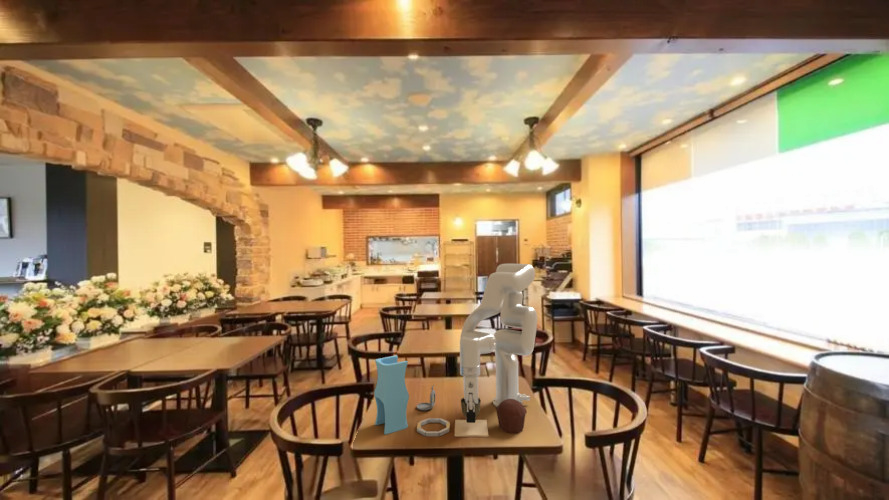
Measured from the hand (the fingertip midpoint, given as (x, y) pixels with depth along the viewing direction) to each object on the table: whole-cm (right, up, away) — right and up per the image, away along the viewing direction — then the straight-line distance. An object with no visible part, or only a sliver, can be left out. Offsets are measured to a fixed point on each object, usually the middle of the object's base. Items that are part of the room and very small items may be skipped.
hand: (470, 417), depth 145 cm
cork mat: (0, -4, 0) cm, 4 cm away
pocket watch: (-17, -5, +19) cm, 26 cm away
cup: (0, -2, 0) cm, 2 cm away
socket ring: (-14, -5, +1) cm, 15 cm away
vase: (-30, -5, +4) cm, 30 cm away
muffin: (+15, -4, 0) cm, 16 cm away
